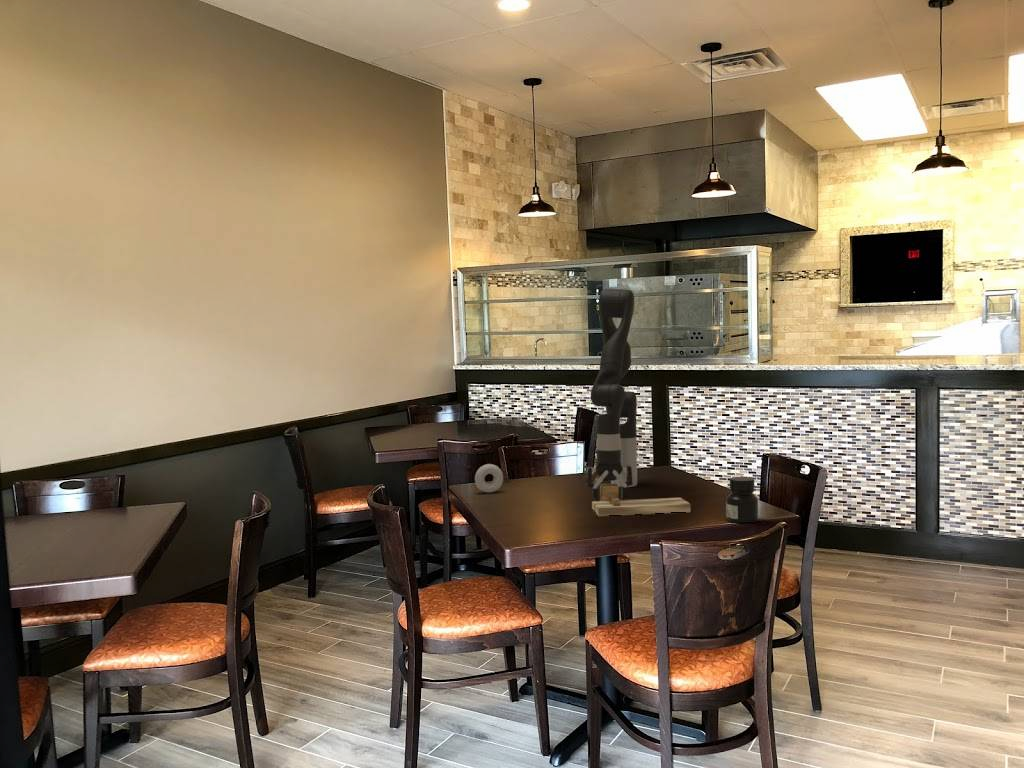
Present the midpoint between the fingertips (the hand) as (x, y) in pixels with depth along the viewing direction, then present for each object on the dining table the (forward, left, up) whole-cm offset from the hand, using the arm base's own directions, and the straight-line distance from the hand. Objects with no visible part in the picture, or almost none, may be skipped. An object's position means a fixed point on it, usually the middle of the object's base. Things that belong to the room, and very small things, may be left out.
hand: (609, 499), depth 267 cm
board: (+7, +8, -2) cm, 11 cm away
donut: (-32, -35, -3) cm, 47 cm away
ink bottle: (+25, +33, -3) cm, 42 cm away
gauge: (+4, 0, -2) cm, 4 cm away
